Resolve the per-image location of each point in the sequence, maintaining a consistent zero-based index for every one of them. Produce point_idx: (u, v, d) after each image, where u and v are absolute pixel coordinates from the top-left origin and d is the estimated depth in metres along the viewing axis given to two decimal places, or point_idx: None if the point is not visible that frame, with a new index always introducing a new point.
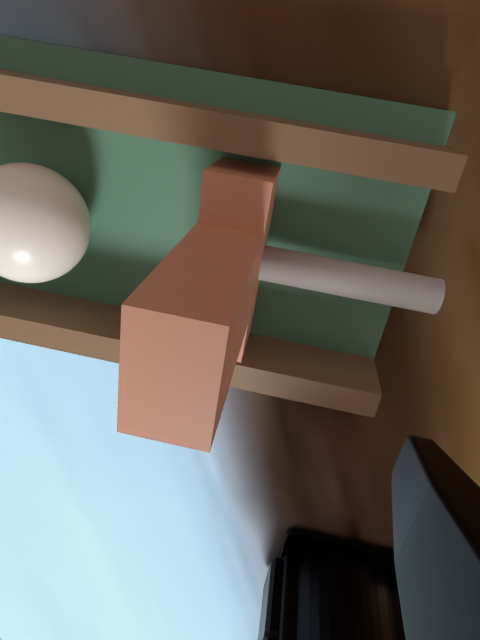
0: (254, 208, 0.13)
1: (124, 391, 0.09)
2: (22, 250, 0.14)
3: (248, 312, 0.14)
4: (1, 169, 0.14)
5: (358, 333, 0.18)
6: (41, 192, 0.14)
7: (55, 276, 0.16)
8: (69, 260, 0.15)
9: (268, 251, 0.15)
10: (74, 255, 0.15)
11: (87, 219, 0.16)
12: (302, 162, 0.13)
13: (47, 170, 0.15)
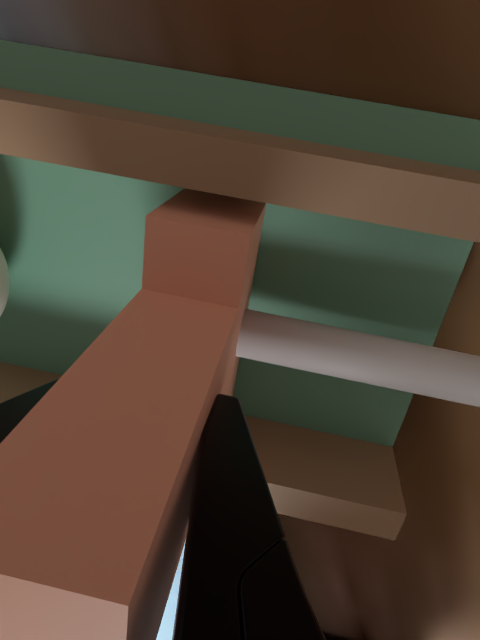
0: (223, 270, 0.09)
1: None
2: None
3: None
4: None
5: (372, 416, 0.13)
6: None
7: None
8: None
9: (248, 320, 0.11)
10: None
11: None
12: (295, 203, 0.09)
13: None
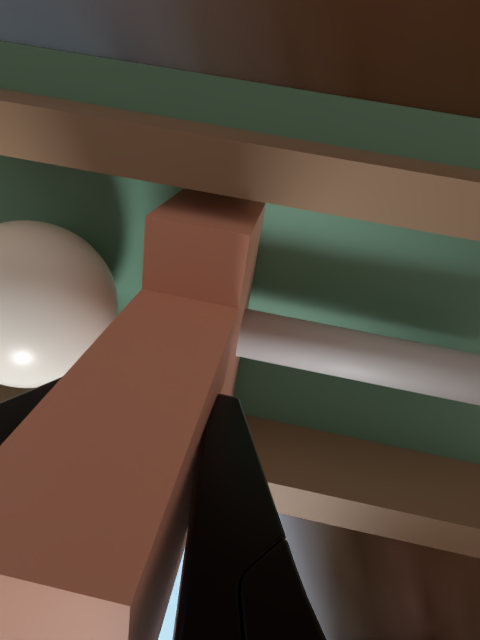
0: (223, 270, 0.09)
1: None
2: (23, 356, 0.10)
3: None
4: None
5: (475, 436, 0.13)
6: (50, 270, 0.10)
7: None
8: None
9: (249, 319, 0.11)
10: None
11: (114, 298, 0.11)
12: (453, 231, 0.08)
13: (58, 232, 0.10)
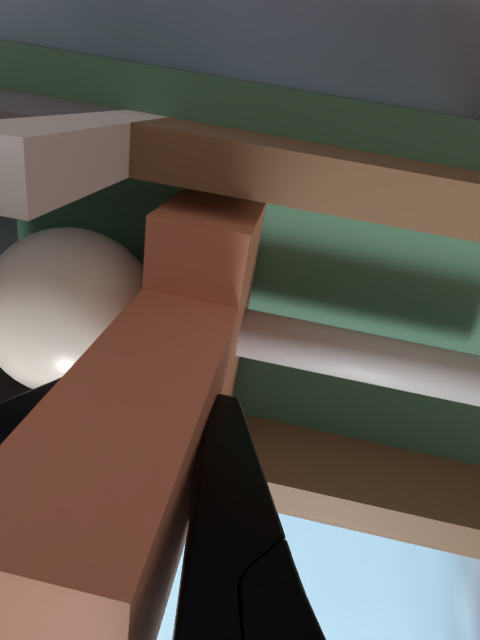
0: (223, 270, 0.09)
1: None
2: None
3: None
4: (107, 240, 0.10)
5: None
6: None
7: None
8: None
9: (249, 319, 0.11)
10: None
11: None
12: None
13: (48, 229, 0.10)
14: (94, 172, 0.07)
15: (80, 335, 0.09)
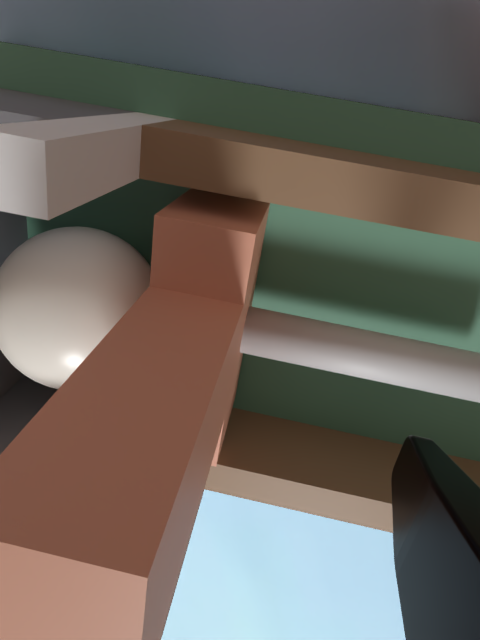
0: (229, 268, 0.09)
1: None
2: None
3: (222, 414, 0.10)
4: (114, 240, 0.11)
5: None
6: None
7: None
8: None
9: (253, 317, 0.11)
10: None
11: None
12: None
13: (58, 228, 0.11)
14: (108, 173, 0.08)
15: (87, 332, 0.10)
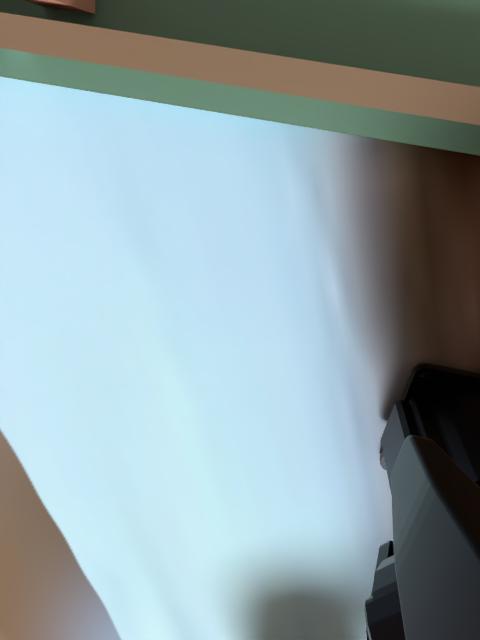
0: None
1: None
2: None
3: None
4: None
5: None
6: None
7: None
8: None
9: None
10: None
11: None
12: None
13: None
14: None
15: None
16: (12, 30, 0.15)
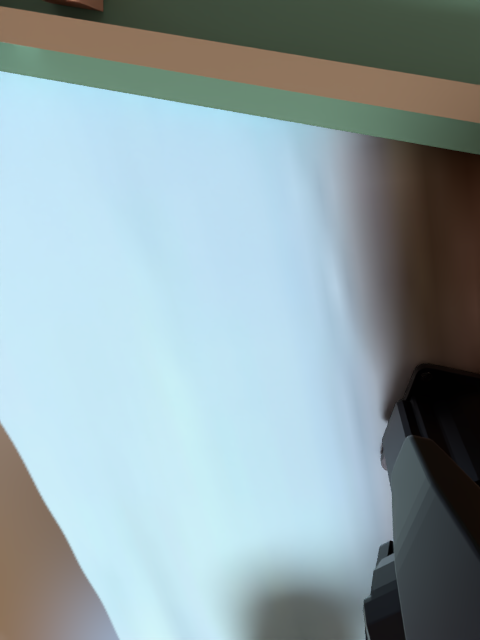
0: None
1: None
2: None
3: None
4: None
5: None
6: None
7: None
8: None
9: None
10: None
11: None
12: None
13: None
14: None
15: None
16: (21, 26, 0.15)
